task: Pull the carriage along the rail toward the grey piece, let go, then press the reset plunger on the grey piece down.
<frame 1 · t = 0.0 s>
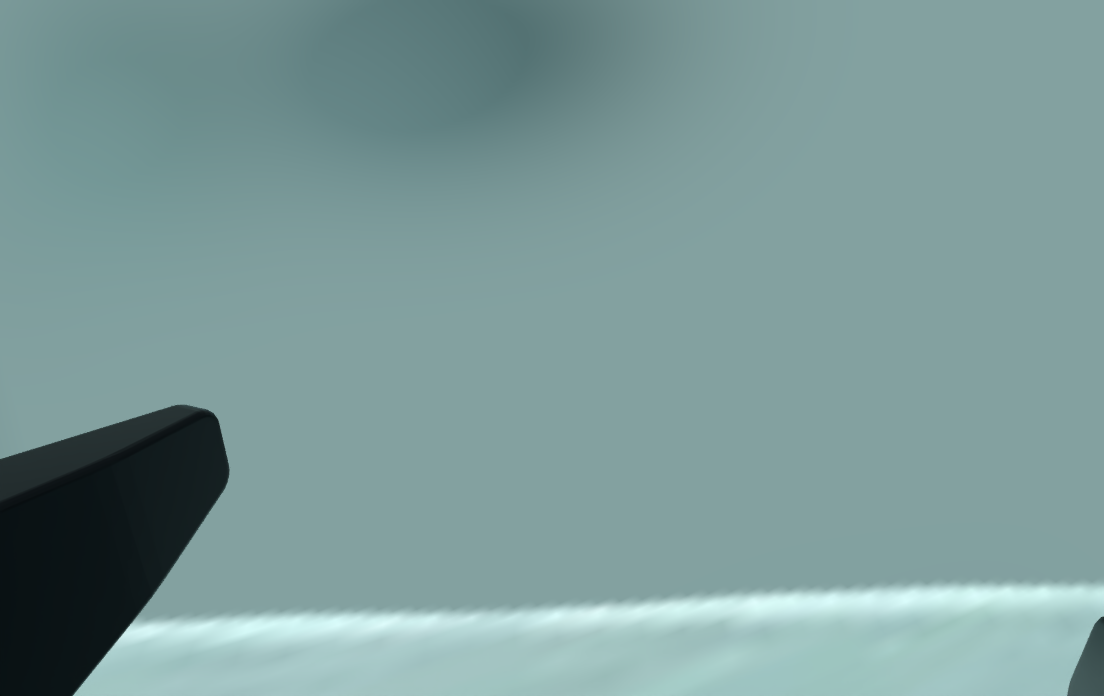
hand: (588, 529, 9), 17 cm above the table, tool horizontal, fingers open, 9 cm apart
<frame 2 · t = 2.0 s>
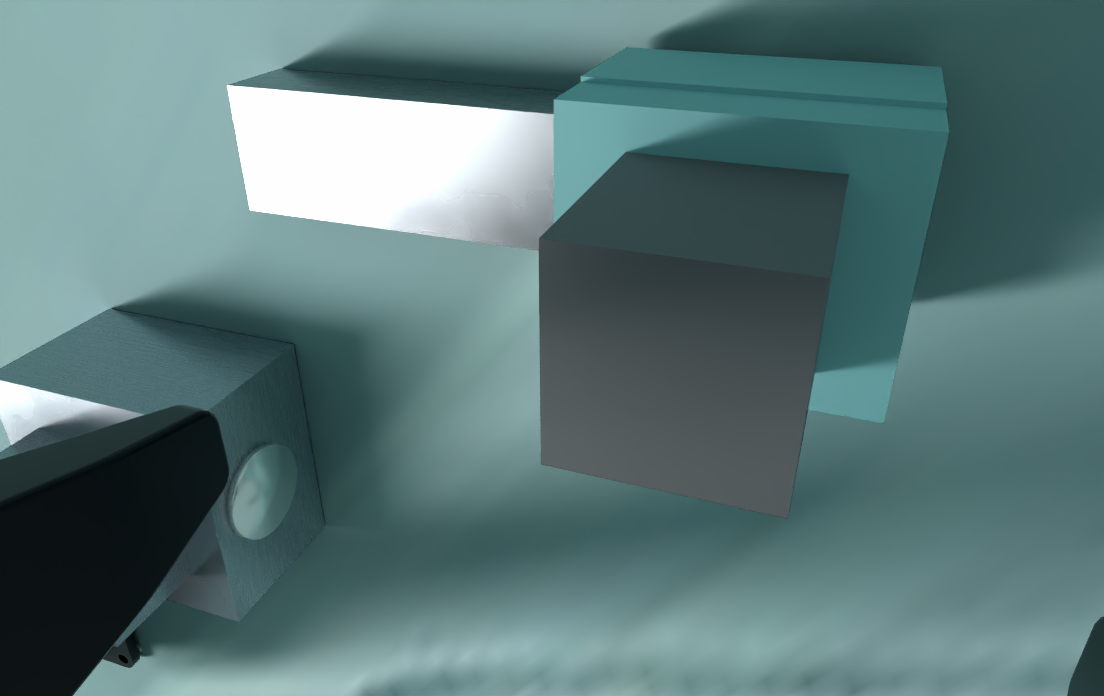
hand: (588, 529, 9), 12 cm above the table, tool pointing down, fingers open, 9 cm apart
rail: (565, 157, 20), on the table
grey piece: (219, 419, 28), on the table
carriage: (724, 260, 14), point 5 cm above the table, slide at 0.0 cm
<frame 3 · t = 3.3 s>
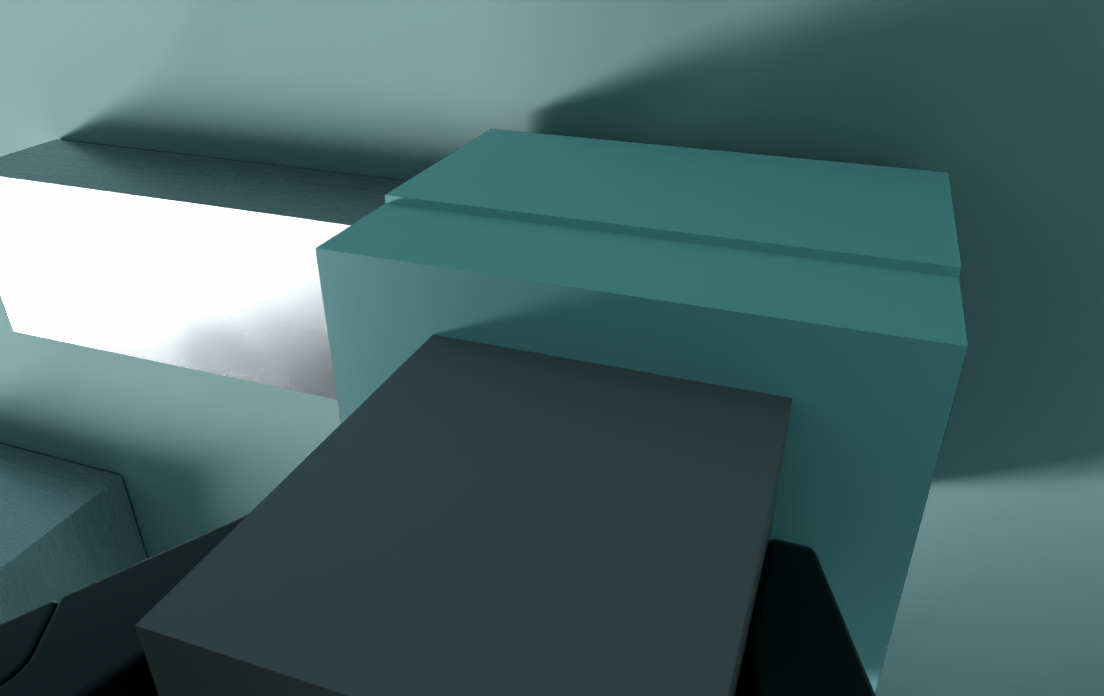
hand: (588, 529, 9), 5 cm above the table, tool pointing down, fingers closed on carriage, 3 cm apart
rail: (427, 269, 14), on the table
grey piece: (50, 553, 23), on the table
carriage: (602, 498, 9), point 5 cm above the table, slide at 0.0 cm, touching gripper
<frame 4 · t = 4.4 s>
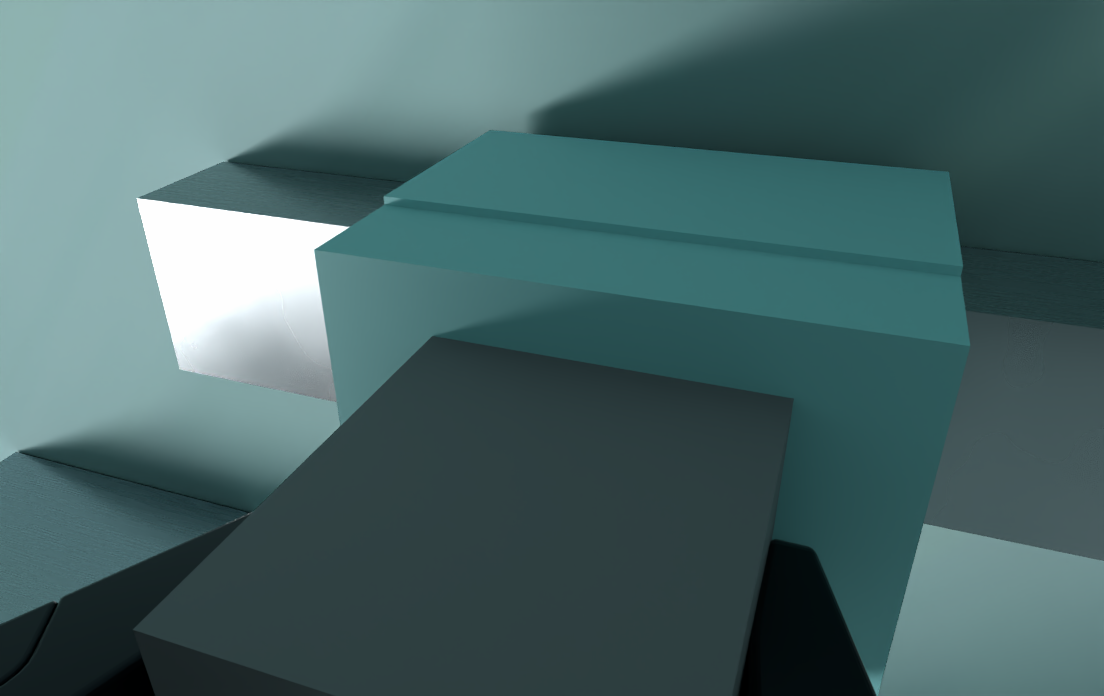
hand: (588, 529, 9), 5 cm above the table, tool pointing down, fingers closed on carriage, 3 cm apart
rail: (647, 304, 13), on the table
grey piece: (163, 592, 21), on the table
carriage: (603, 500, 9), point 5 cm above the table, slide at 3.8 cm, touching gripper
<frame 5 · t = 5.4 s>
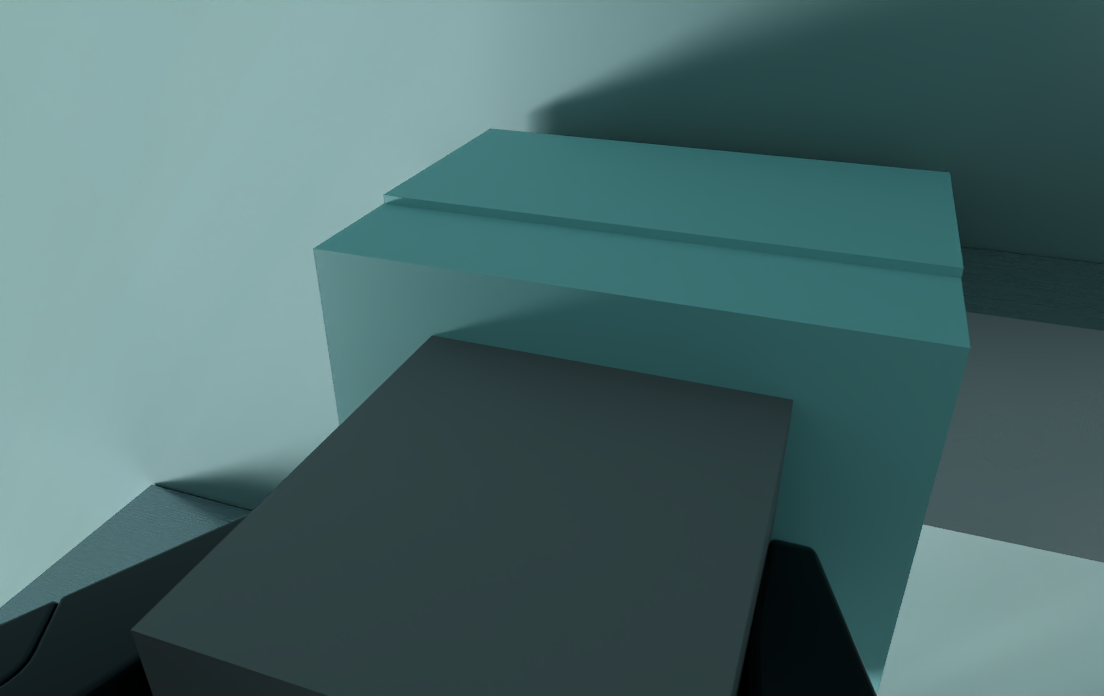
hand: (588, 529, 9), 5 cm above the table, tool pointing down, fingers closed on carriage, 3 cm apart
rail: (941, 348, 12), on the table
grey piece: (303, 633, 20), on the table
carriage: (602, 500, 9), point 5 cm above the table, slide at 7.9 cm, touching gripper
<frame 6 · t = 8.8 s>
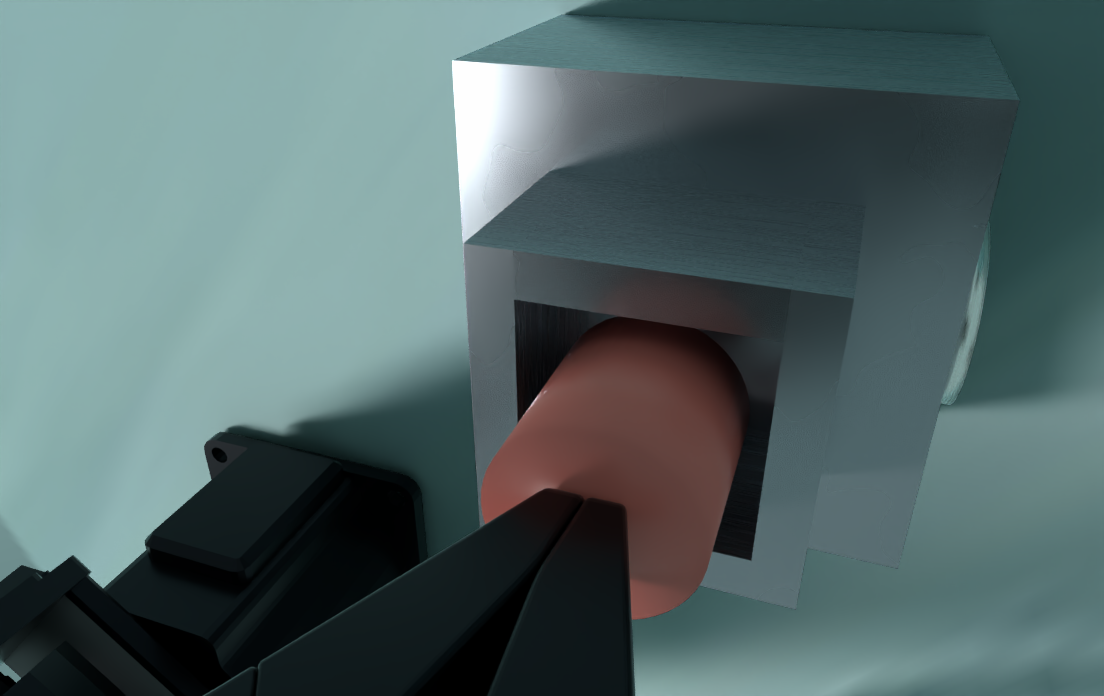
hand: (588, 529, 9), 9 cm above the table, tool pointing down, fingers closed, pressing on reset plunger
reset plunger: (624, 457, 10), point 8 cm above the table, slide at 0.8 cm, touching gripper
grey piece: (737, 222, 16), on the table
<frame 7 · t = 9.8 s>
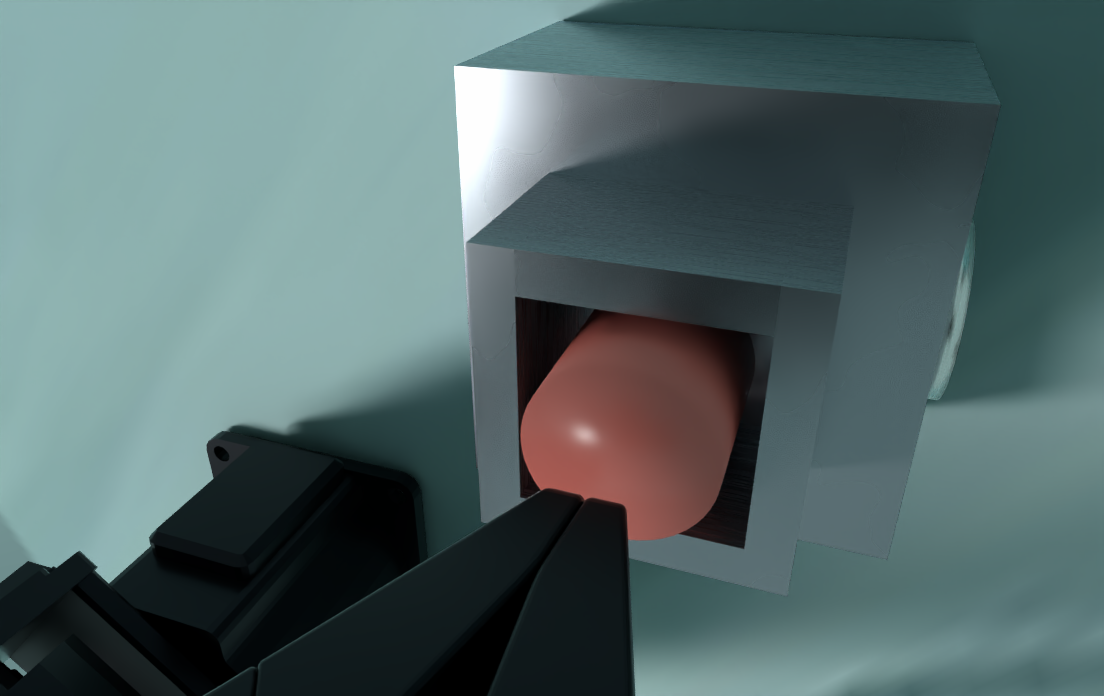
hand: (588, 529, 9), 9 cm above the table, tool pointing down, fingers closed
reset plunger: (644, 401, 11), point 7 cm above the table, slide at 1.8 cm
grey piece: (731, 223, 16), on the table
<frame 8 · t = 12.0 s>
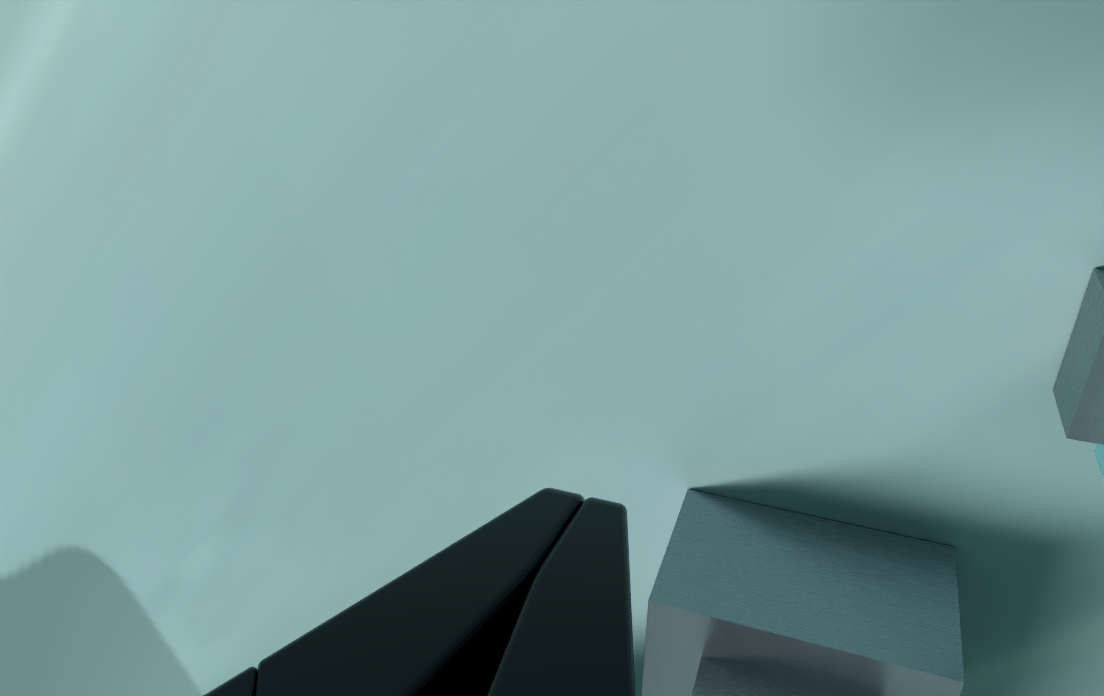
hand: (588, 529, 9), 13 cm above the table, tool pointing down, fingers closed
grey piece: (797, 610, 25), on the table
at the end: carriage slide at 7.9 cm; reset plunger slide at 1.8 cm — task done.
